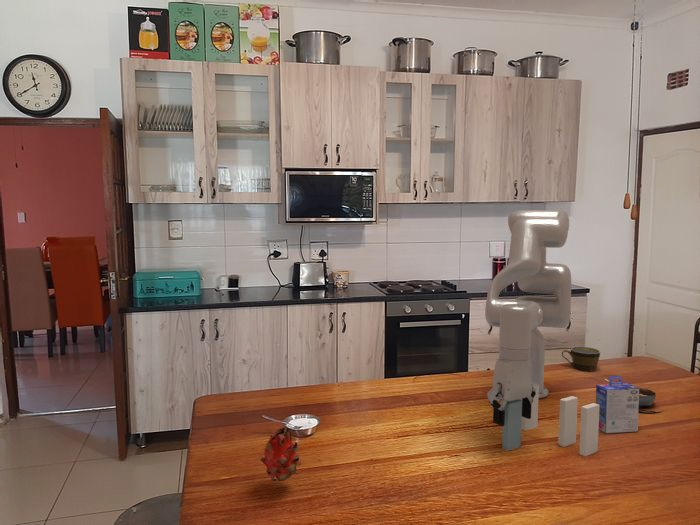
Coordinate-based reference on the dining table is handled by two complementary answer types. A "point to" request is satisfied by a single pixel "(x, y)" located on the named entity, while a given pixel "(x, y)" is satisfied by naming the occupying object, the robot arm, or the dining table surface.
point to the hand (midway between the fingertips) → (512, 420)
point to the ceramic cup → (584, 358)
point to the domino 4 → (589, 429)
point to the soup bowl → (645, 399)
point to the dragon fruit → (281, 456)
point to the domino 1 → (512, 425)
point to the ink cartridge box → (617, 406)
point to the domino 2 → (532, 414)
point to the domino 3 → (568, 421)
